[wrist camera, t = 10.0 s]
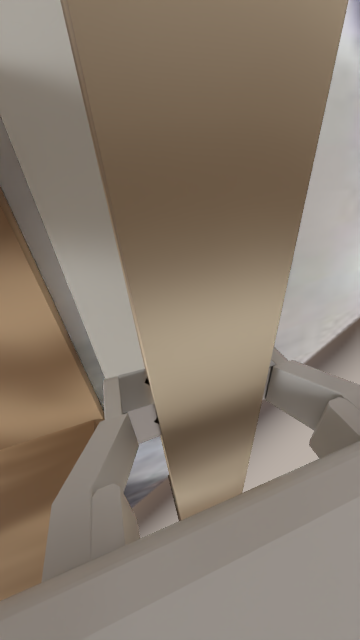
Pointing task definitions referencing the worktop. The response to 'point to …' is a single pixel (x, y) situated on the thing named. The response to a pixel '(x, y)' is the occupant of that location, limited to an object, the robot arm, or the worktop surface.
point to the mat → (65, 173)
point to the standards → (34, 410)
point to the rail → (205, 199)
